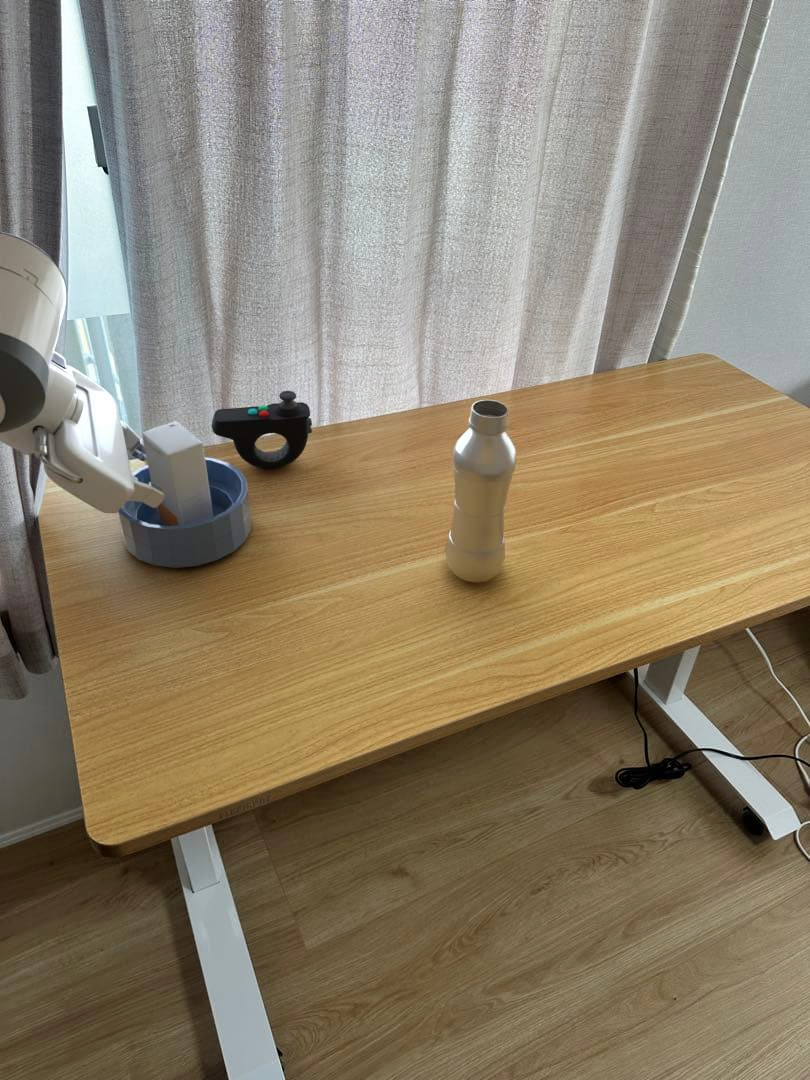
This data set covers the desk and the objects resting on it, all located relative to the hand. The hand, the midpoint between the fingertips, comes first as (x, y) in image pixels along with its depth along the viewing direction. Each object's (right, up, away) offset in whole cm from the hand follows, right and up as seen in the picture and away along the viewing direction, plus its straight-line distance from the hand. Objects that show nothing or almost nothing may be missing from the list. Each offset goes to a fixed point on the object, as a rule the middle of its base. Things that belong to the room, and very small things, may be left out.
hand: (154, 475), depth 86 cm
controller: (+9, +3, +18) cm, 21 cm away
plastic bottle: (+34, -10, +3) cm, 36 cm away
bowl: (+2, -6, +6) cm, 9 cm away
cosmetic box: (+2, -6, +6) cm, 8 cm away
